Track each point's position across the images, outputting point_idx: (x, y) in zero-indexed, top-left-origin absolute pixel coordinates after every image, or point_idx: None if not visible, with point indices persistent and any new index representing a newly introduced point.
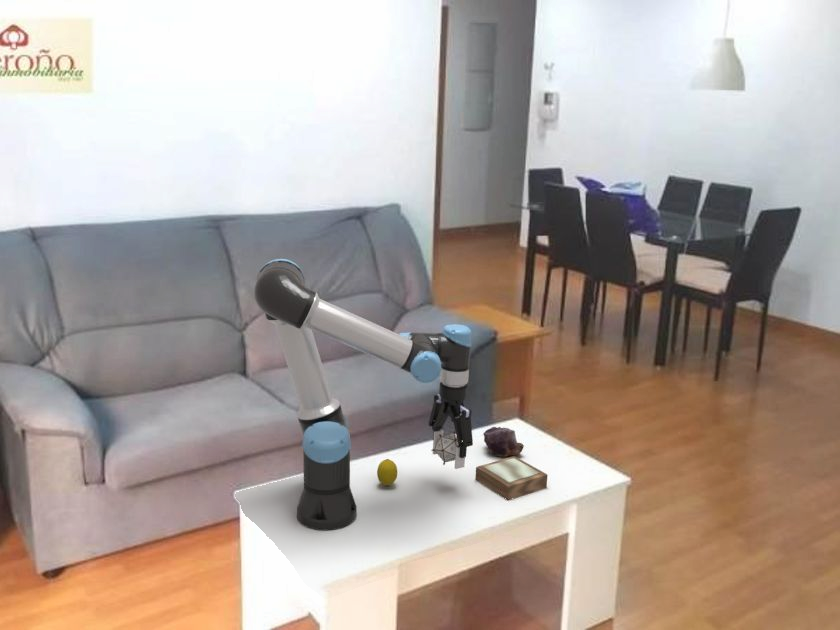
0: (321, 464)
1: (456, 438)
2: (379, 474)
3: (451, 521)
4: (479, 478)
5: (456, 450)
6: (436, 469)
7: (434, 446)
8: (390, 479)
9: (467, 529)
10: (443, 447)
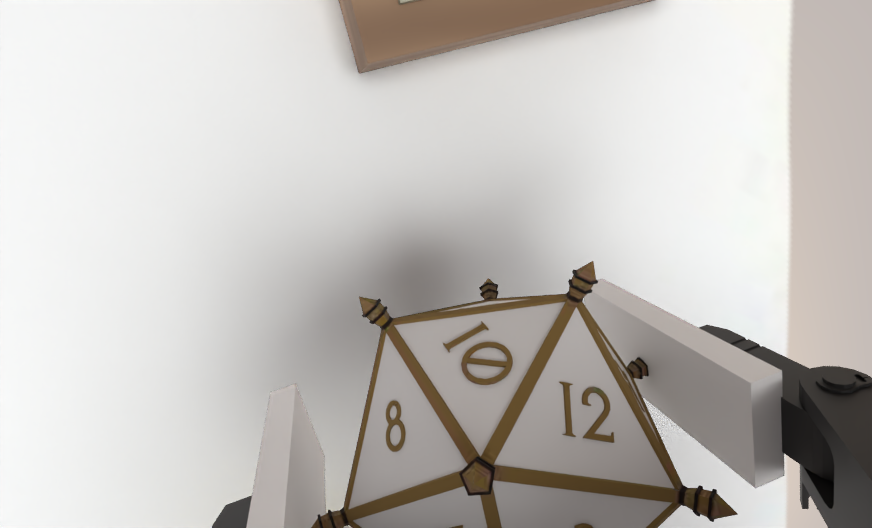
0: None
1: (731, 514)
2: None
3: None
4: (403, 60)
5: (717, 446)
6: (136, 272)
7: (323, 514)
8: None
9: (776, 313)
10: None
